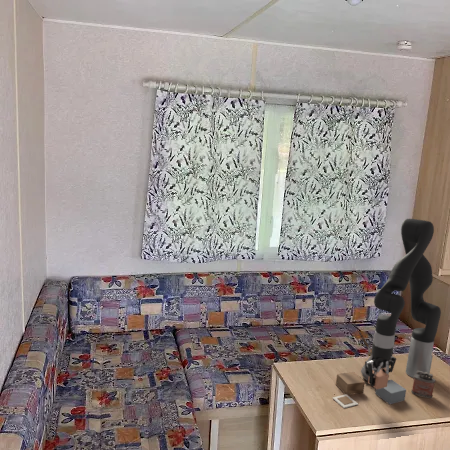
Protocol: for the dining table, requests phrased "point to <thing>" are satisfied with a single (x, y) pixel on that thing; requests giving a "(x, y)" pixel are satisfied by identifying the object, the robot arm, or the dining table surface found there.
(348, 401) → the white square frame
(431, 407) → the dining table surface
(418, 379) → the lighter
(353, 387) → the walnut block
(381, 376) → the terracotta cube
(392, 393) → the slate block
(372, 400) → the dining table surface
